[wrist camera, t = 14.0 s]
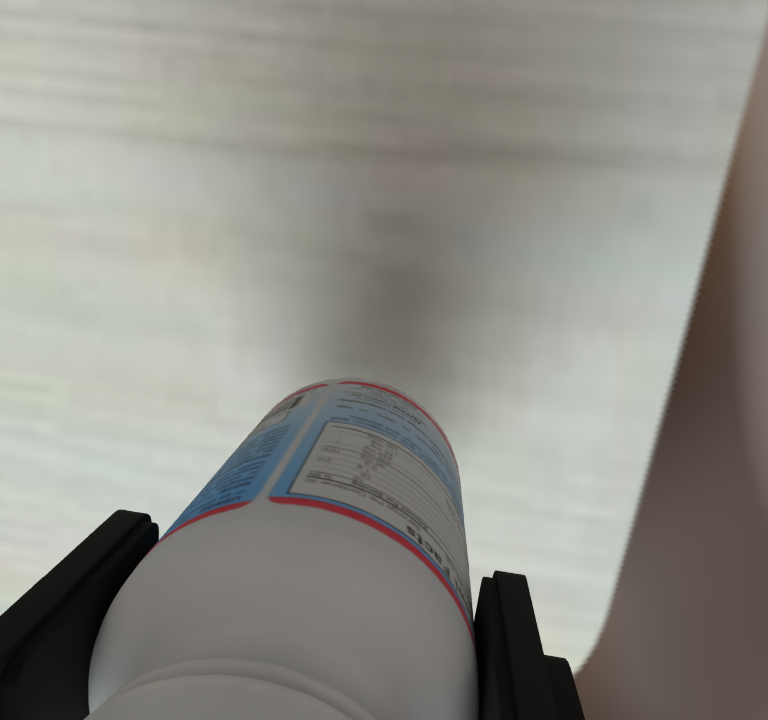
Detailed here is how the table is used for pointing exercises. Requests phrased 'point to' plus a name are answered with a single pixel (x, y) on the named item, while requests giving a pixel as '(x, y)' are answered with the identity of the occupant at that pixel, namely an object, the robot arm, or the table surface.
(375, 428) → the pill bottle
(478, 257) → the table surface
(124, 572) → the robot arm
